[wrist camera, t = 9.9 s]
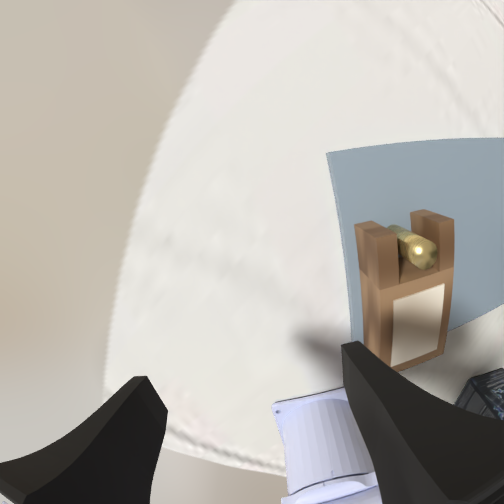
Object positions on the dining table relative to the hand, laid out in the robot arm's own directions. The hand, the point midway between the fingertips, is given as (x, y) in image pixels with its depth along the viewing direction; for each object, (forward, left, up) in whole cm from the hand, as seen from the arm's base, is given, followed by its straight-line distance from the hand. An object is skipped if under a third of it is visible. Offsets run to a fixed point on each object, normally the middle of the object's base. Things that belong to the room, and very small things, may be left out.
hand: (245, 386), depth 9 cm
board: (-1, -16, -10) cm, 18 cm away
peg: (+1, -10, -10) cm, 14 cm away
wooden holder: (-3, -10, -9) cm, 14 cm away
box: (-23, -25, -10) cm, 35 cm away
